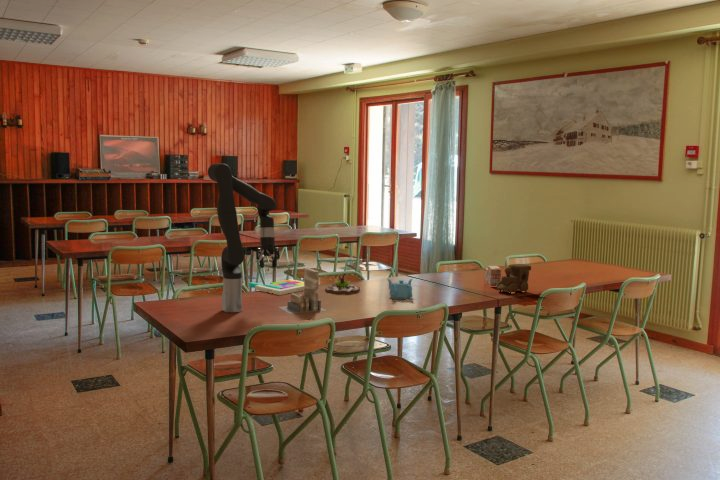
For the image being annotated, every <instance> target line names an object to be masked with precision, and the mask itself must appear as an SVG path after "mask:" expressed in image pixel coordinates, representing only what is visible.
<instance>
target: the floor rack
mask: <svg viewBox="0 0 720 480" xmlns="http://www.w3.org/2000/svg"><path fill="white" fill-rule="evenodd" d="M313 304H314V301H312V300H310V299H309V311H303V312H300V306H298V305H296V304H294V303H292V302H291V300H288V301H287V305H286V306H278V309H281V310H282V311H284V312H286V313H288V314H289V315H292V314H294V315H295V314H302V313H303V314H304V313H313V312H315V313H316V312H323V311H326V309H324V308H322V300H321V299H319V298H318V310H313Z"/></svg>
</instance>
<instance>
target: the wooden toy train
mask: <svg viewBox="0 0 720 480" xmlns="http://www.w3.org/2000/svg"><path fill="white" fill-rule="evenodd" d="M530 271H532V266H531V265H529V264H524V263H513V264H512V263H511V264H509V265H508V266H506V267H505V269H504V273H505V275H504V276H502V275H501V279H500V282H499V283H498V284H497V288H496V289H497V290H503V291H502V292H504V291H505V292H508V293H509V292H510V293H511V292H517V291H520V292H521V291H526V292H527V291H528V290H529V283H528V282H529V276H530Z"/></svg>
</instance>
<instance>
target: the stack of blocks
mask: <svg viewBox="0 0 720 480" xmlns="http://www.w3.org/2000/svg"><path fill="white" fill-rule="evenodd" d="M501 279H502V269H501V267H499V266H498V265H487V267H485V268H484V281H485V280H486V281H487V282H488V283H489V284H490V285H491V286H497V284H498V283H499V282H500V281H501Z"/></svg>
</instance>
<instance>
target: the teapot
mask: <svg viewBox="0 0 720 480" xmlns="http://www.w3.org/2000/svg"><path fill="white" fill-rule="evenodd" d="M386 280H387V281H388V290H389V296H390V297H391V298H392V299H395V300H408V299H410V298H413V295H414V294H413V286H412V281H413V278H411V279H409V280H408V282H405V281H404V280H403V279H399V280H398V281H395V282H394V283H392V280H391V279H390V278H386Z"/></svg>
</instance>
